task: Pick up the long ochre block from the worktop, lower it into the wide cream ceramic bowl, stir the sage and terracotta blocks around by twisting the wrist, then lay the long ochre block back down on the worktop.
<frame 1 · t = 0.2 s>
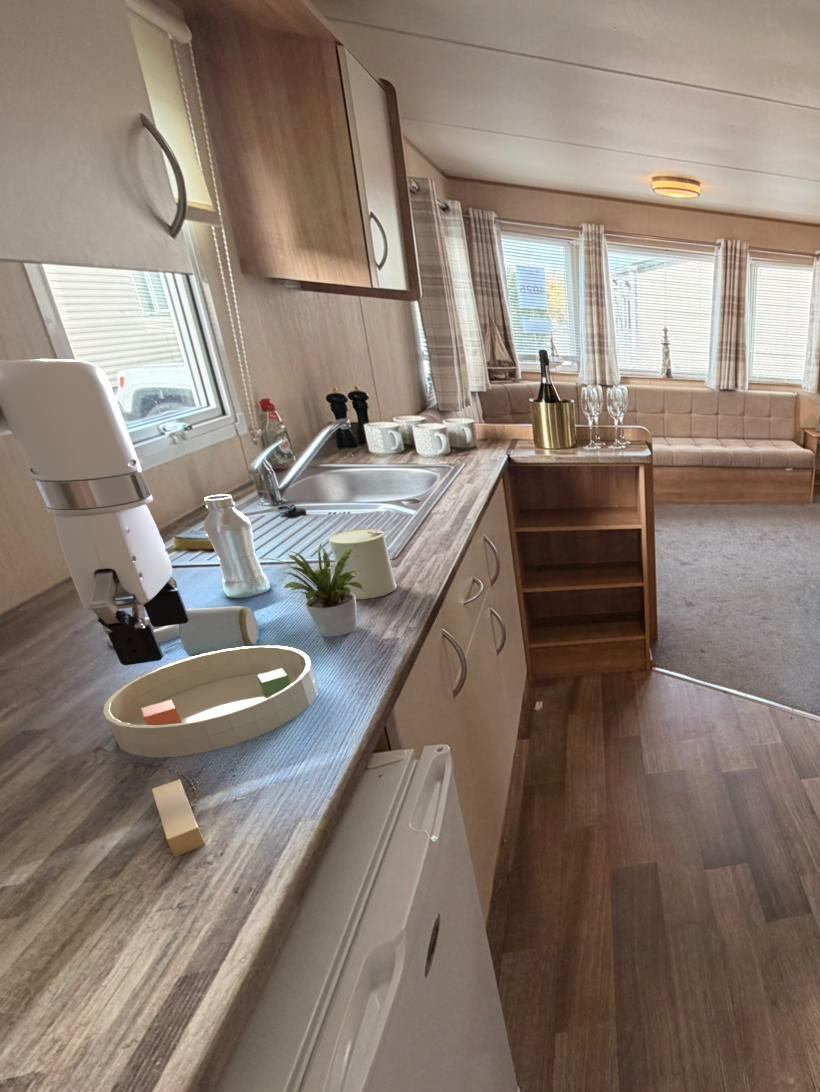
hand: (158, 641, 71), 18 cm above the counter, tool pointing down, fingers open, 9 cm apart
ceramic mug: (228, 648, 105), on the counter
house plant: (331, 636, 110), on the counter
plastic bottle: (251, 600, 122), on the counter
cream tapered cylinder: (370, 591, 128), on the counter
donut: (155, 643, 105), on the counter
terracotta block: (166, 727, 84), point 1 cm above the counter, touching bowl
bowl: (226, 712, 88), on the counter
long ochre block: (181, 824, 70), on the counter
sage block: (278, 693, 92), point 1 cm above the counter, touching bowl
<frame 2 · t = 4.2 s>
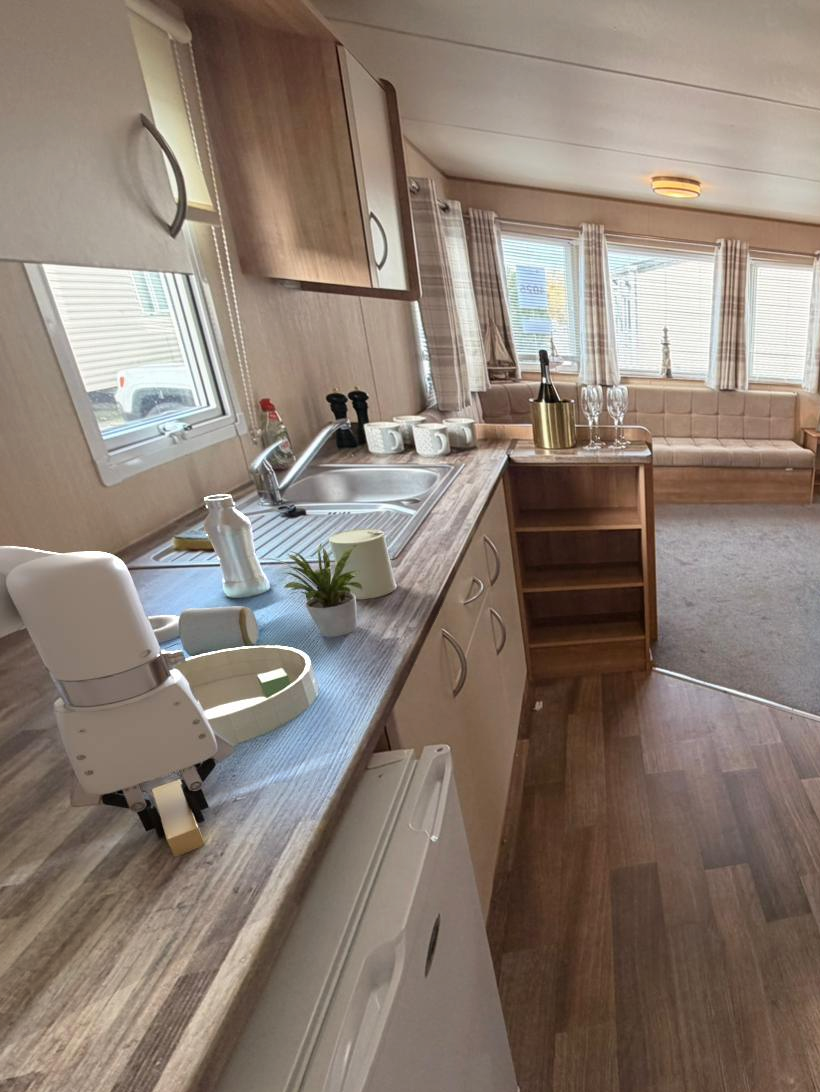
hand: (180, 822, 69), 0 cm above the counter, tool pointing down, fingers closed on long ochre block, 2 cm apart
long ochre block: (181, 824, 70), on the counter, touching gripper
everything else where it was.
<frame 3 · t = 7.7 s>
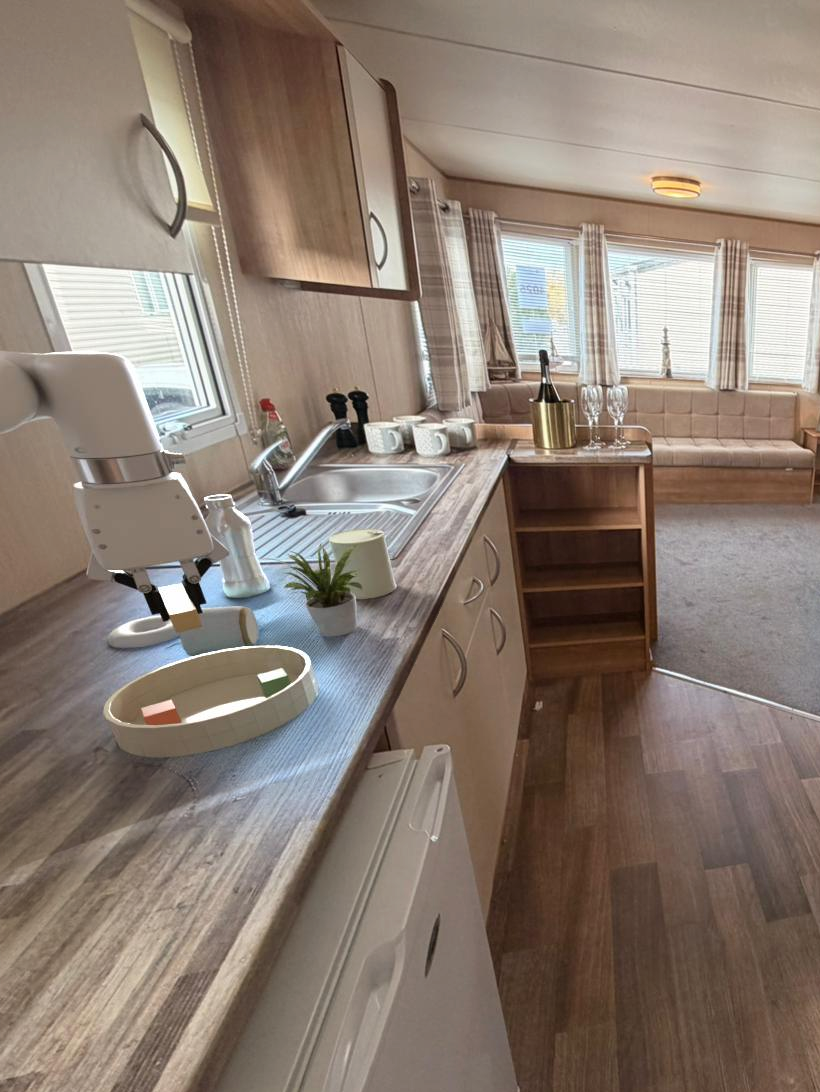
hand: (181, 613, 80), 16 cm above the counter, tool pointing down, fingers closed on long ochre block, 2 cm apart
long ochre block: (182, 615, 80), point 16 cm above the counter, touching gripper
everything else where it was.
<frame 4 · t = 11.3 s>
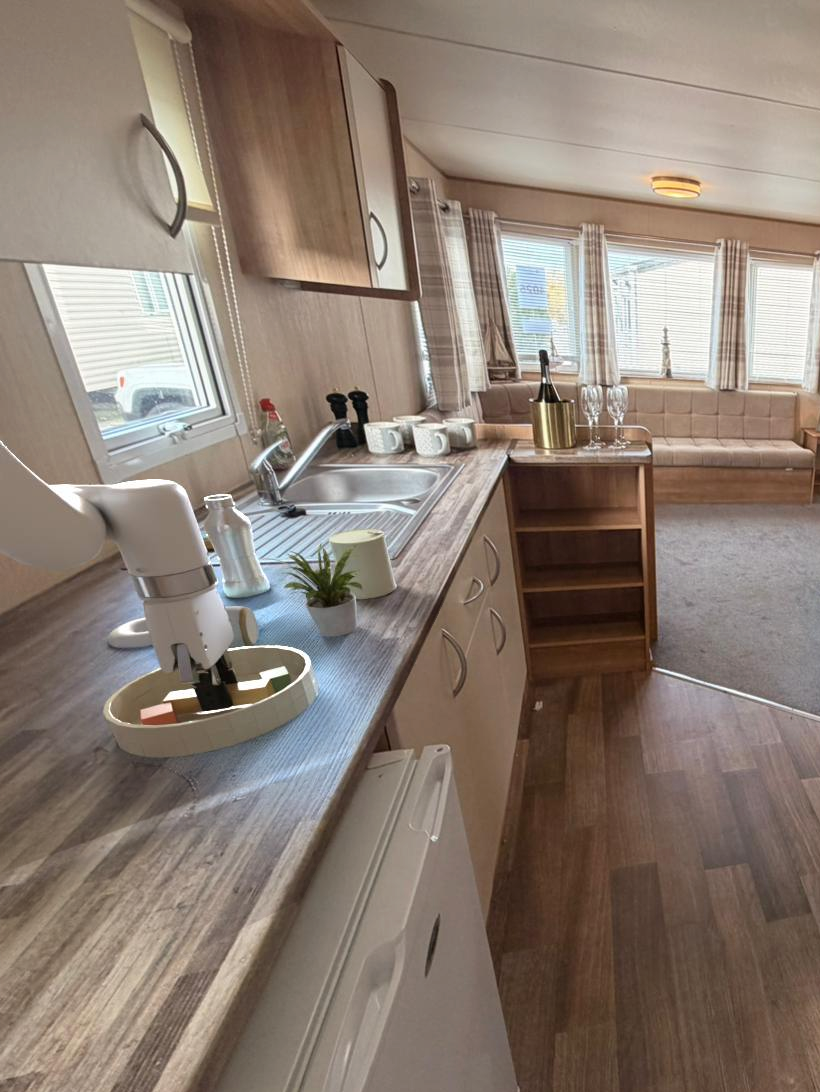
hand: (222, 701, 88), 2 cm above the counter, tool pointing down, fingers closed on long ochre block, 2 cm apart
long ochre block: (223, 704, 88), point 1 cm above the counter, touching gripper
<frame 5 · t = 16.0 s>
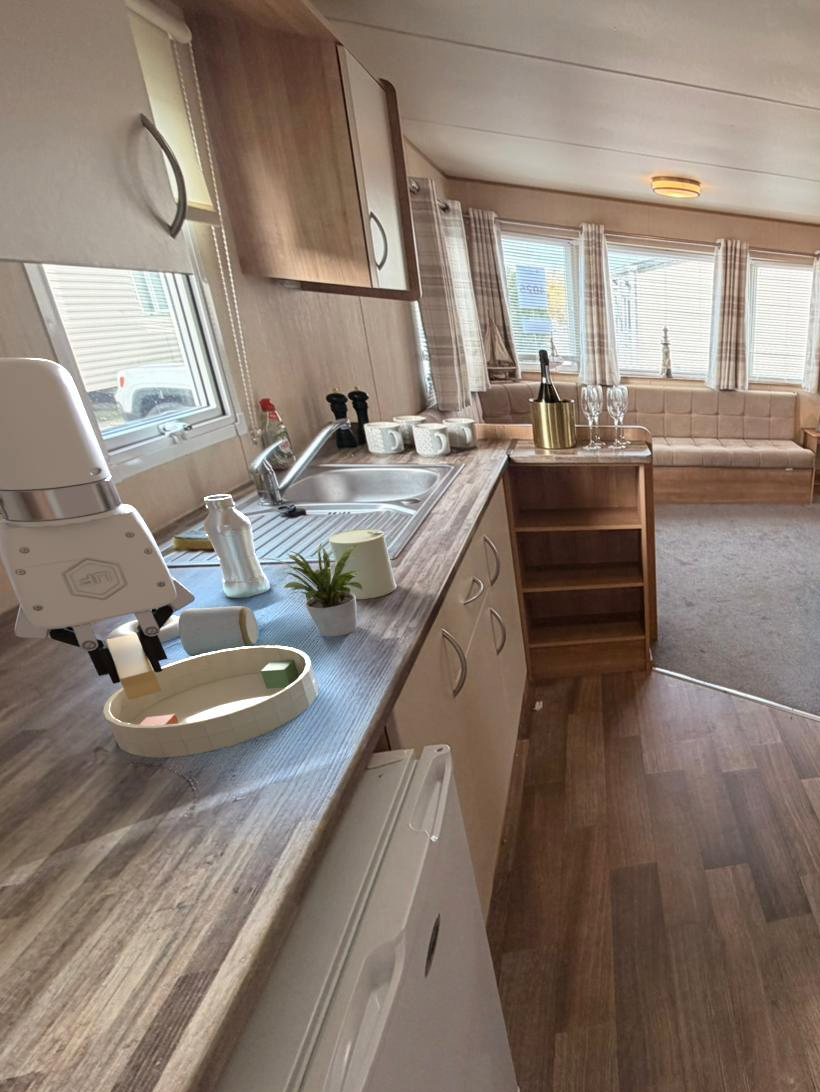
hand: (136, 671, 66), 17 cm above the counter, tool pointing down, fingers closed on long ochre block
terracotta block: (162, 741, 81), point 1 cm above the counter, touching bowl
long ochre block: (137, 674, 66), point 17 cm above the counter, touching gripper
sage block: (283, 682, 95), point 1 cm above the counter, touching bowl
everything else where it was.
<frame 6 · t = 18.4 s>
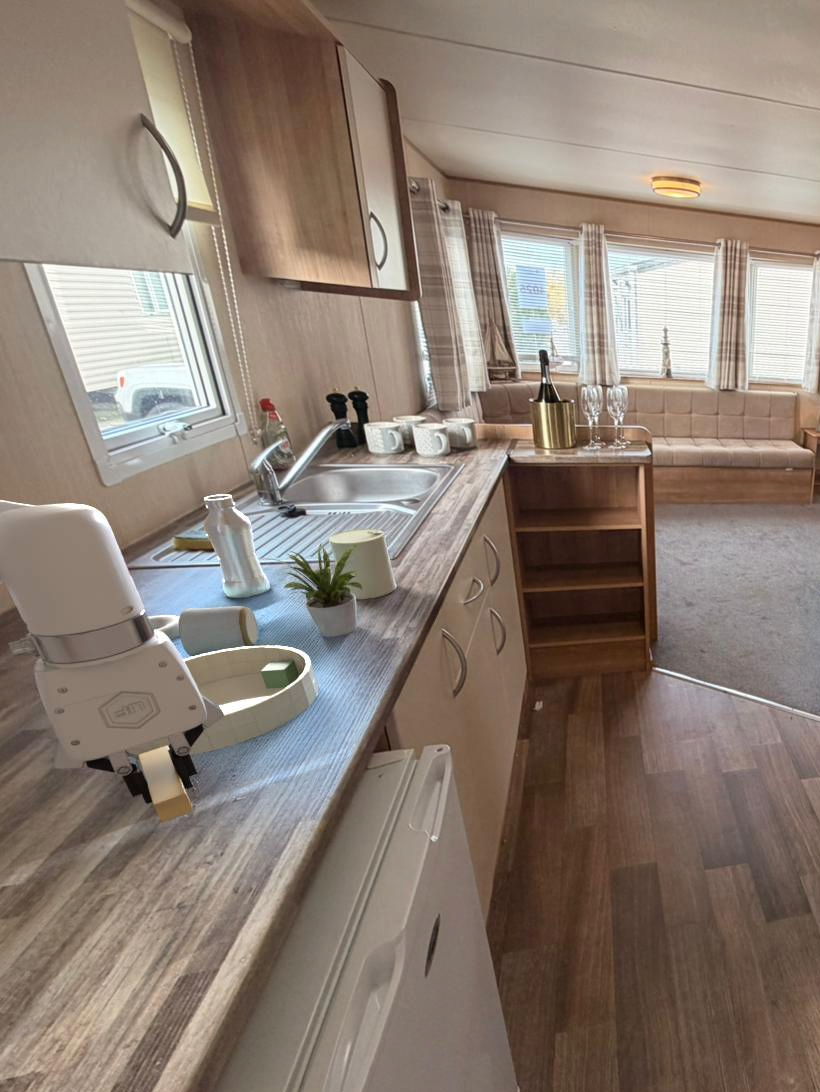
hand: (168, 788, 68), 5 cm above the counter, tool pointing down, fingers closed on long ochre block
long ochre block: (169, 791, 68), point 5 cm above the counter, touching gripper
everything else where it was.
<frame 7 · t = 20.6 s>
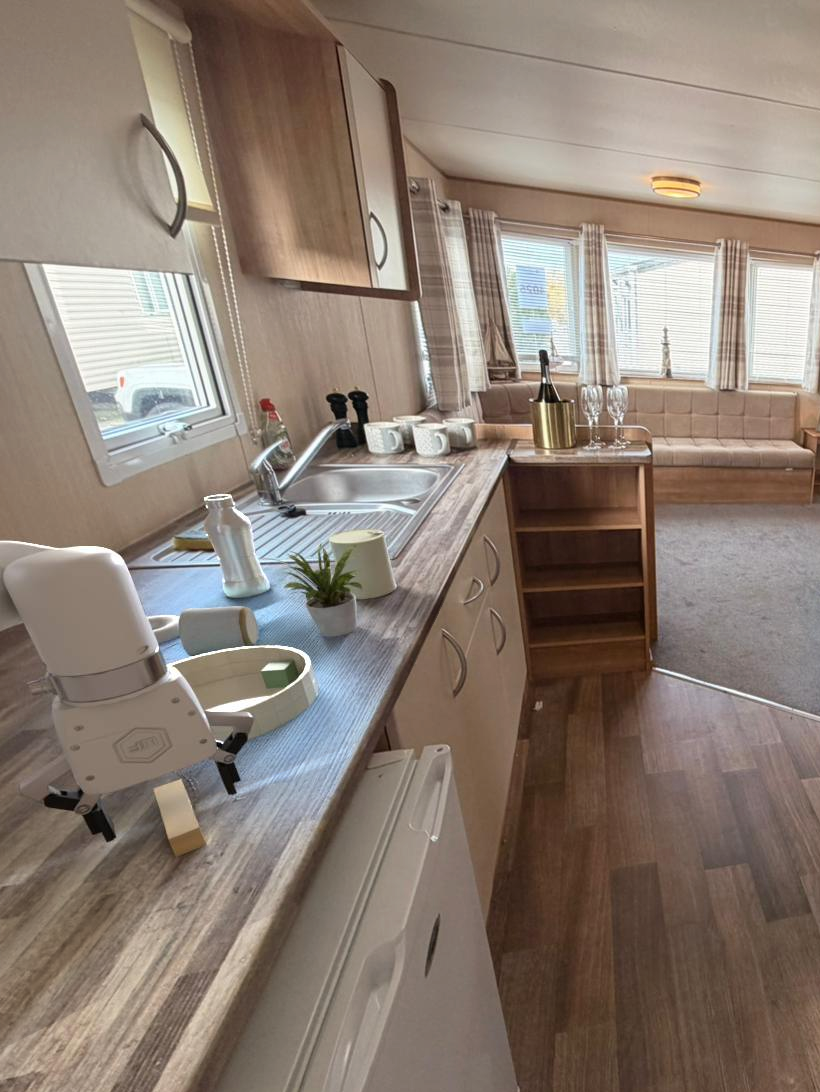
hand: (173, 810, 69), 2 cm above the counter, tool pointing down, fingers open, 9 cm apart
long ochre block: (183, 824, 70), on the counter
everything else where it was.
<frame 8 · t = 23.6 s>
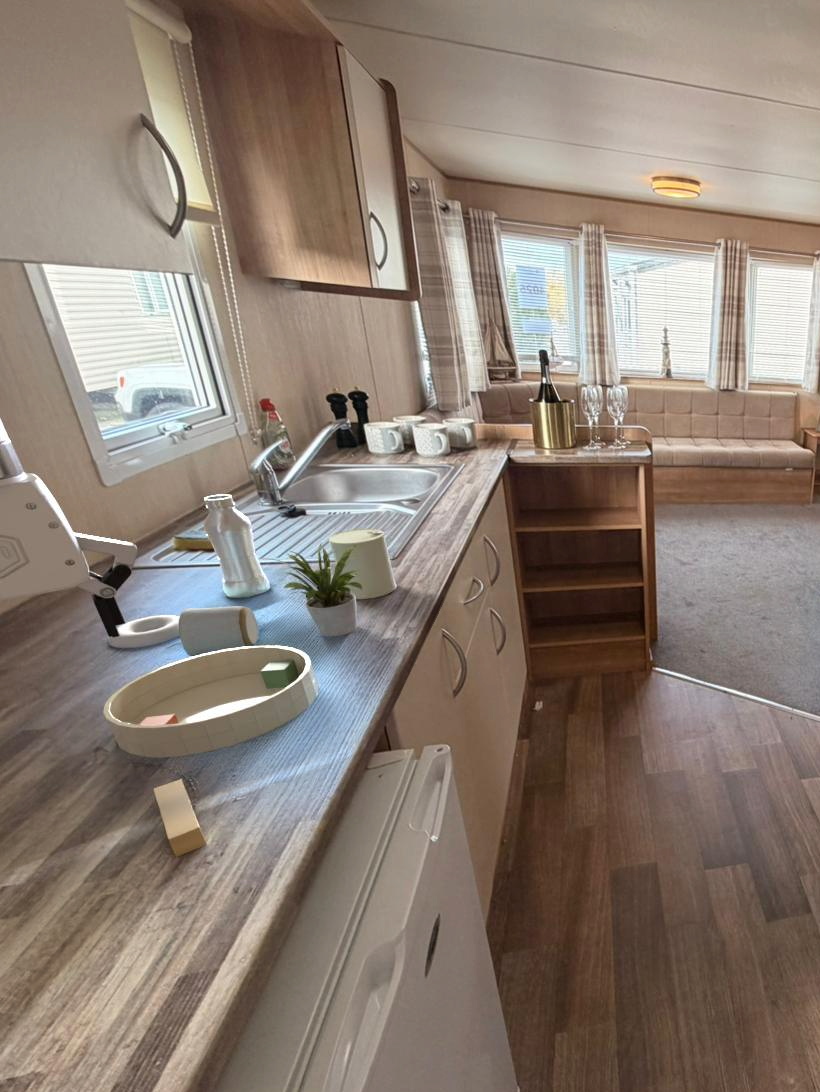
hand: (40, 648, 59), 22 cm above the counter, tool pointing down, fingers open, 9 cm apart
nothing on the counter moved.
at the end: sage block moved 3.1 cm from its start; sage block inside the target area in the bowl (7.8 cm from its centre), point 0.6 cm above the bowl's base; long ochre block inside the target area (0.1 cm from its centre), on the counter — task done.
